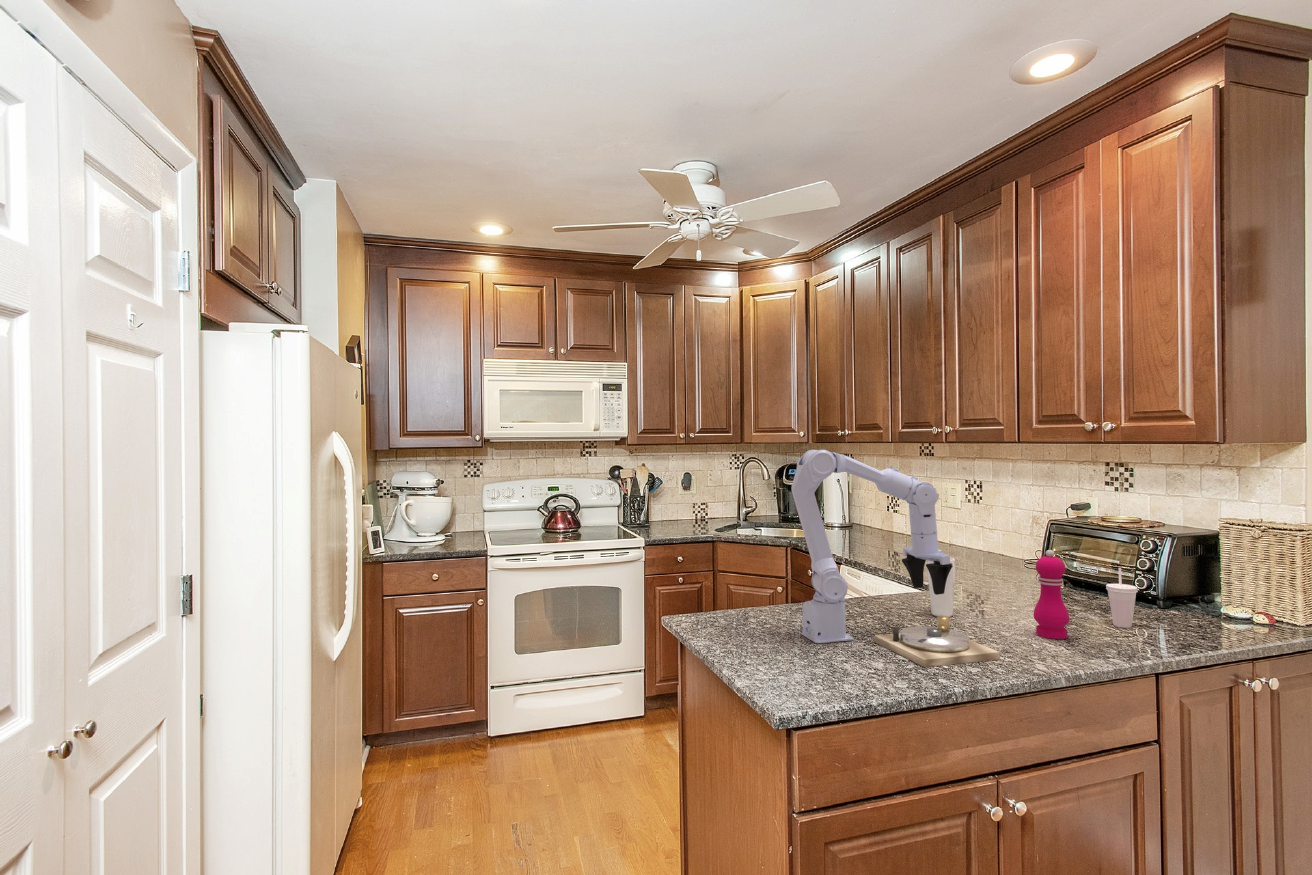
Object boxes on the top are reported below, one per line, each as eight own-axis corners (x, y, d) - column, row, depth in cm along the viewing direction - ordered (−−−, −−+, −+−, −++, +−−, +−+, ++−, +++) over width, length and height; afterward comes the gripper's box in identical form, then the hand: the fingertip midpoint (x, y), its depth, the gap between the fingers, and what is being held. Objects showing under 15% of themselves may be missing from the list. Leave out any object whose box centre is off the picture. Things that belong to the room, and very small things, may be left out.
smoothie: (1128, 622, 165) (1127, 566, 165) (1144, 629, 159) (1143, 570, 159) (1101, 622, 166) (1099, 565, 166) (1116, 629, 159) (1115, 570, 159)
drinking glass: (952, 619, 169) (951, 561, 169) (925, 616, 173) (924, 558, 174) (959, 614, 175) (957, 557, 175) (932, 610, 179) (931, 555, 179)
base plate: (924, 667, 134) (924, 644, 134) (874, 641, 151) (874, 622, 151) (999, 659, 138) (999, 637, 138) (942, 635, 156) (942, 616, 156)
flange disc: (953, 656, 135) (953, 634, 135) (888, 642, 145) (888, 621, 145) (979, 641, 144) (979, 620, 145) (917, 629, 155) (916, 610, 155)
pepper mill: (1075, 640, 150) (1073, 552, 151) (1040, 639, 152) (1038, 551, 152) (1062, 631, 157) (1060, 547, 158) (1029, 630, 159) (1027, 547, 159)
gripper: (959, 534, 149) (964, 594, 149) (919, 527, 163) (923, 582, 163) (932, 537, 147) (937, 598, 147) (894, 530, 162) (898, 586, 161)
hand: (928, 590), depth 155 cm, fingers open, 7 cm apart
